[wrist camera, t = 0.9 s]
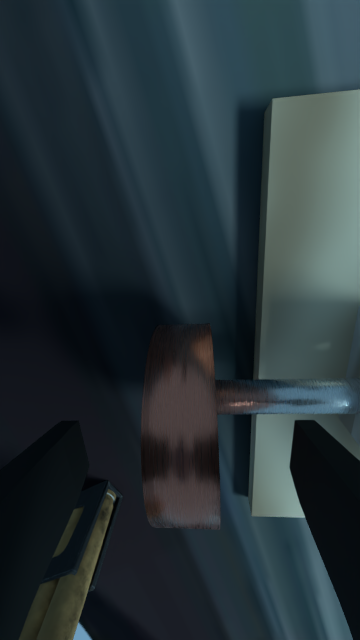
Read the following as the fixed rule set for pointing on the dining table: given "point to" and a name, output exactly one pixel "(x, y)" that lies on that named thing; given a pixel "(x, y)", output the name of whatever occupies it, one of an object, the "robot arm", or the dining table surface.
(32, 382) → the dining table surface
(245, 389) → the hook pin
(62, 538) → the ammunition clip
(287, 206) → the eye bracket
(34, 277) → the dining table surface
